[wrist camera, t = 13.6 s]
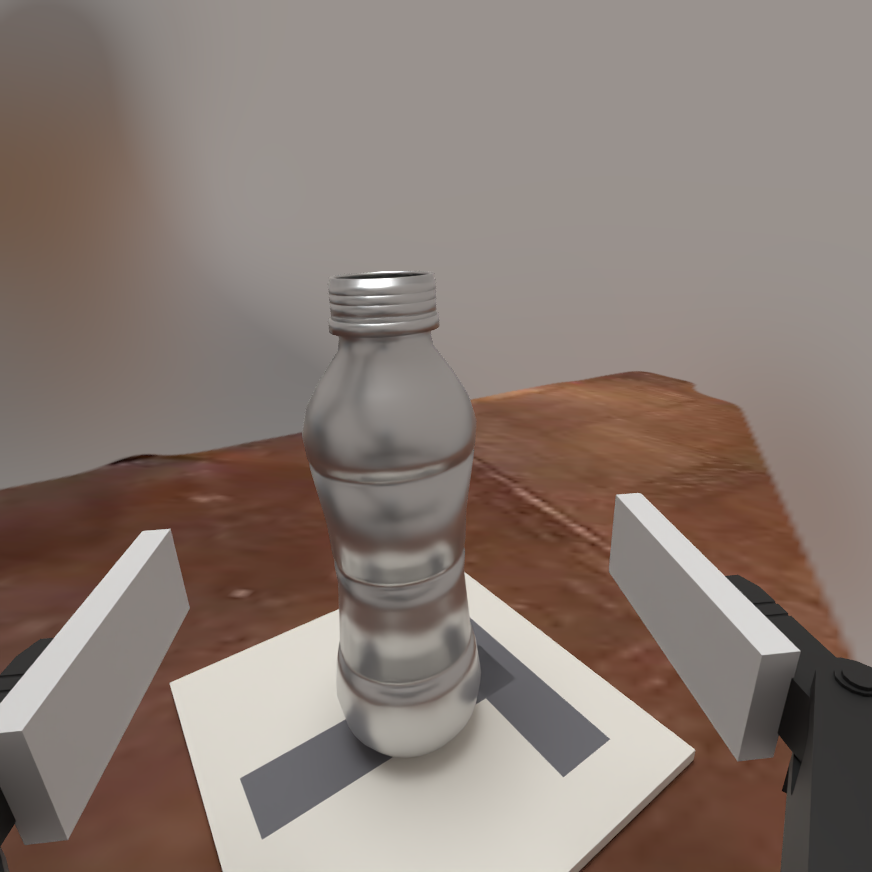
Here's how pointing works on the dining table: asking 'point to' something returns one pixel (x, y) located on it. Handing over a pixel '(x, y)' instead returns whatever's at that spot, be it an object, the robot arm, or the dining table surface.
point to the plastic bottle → (396, 513)
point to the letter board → (420, 761)
